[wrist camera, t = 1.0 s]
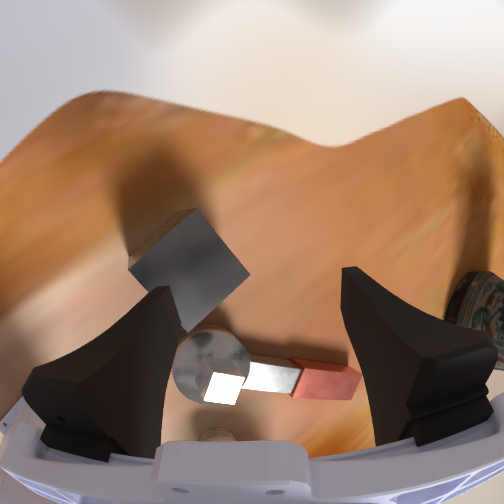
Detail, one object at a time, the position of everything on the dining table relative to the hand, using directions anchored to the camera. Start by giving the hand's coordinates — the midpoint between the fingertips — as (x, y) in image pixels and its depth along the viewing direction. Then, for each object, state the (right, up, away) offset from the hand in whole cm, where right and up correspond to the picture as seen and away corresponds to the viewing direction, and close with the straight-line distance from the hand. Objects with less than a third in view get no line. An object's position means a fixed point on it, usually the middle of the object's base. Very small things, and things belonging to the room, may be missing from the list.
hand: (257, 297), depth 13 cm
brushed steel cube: (-6, +1, +11) cm, 13 cm away
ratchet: (+2, -9, +16) cm, 18 cm away
